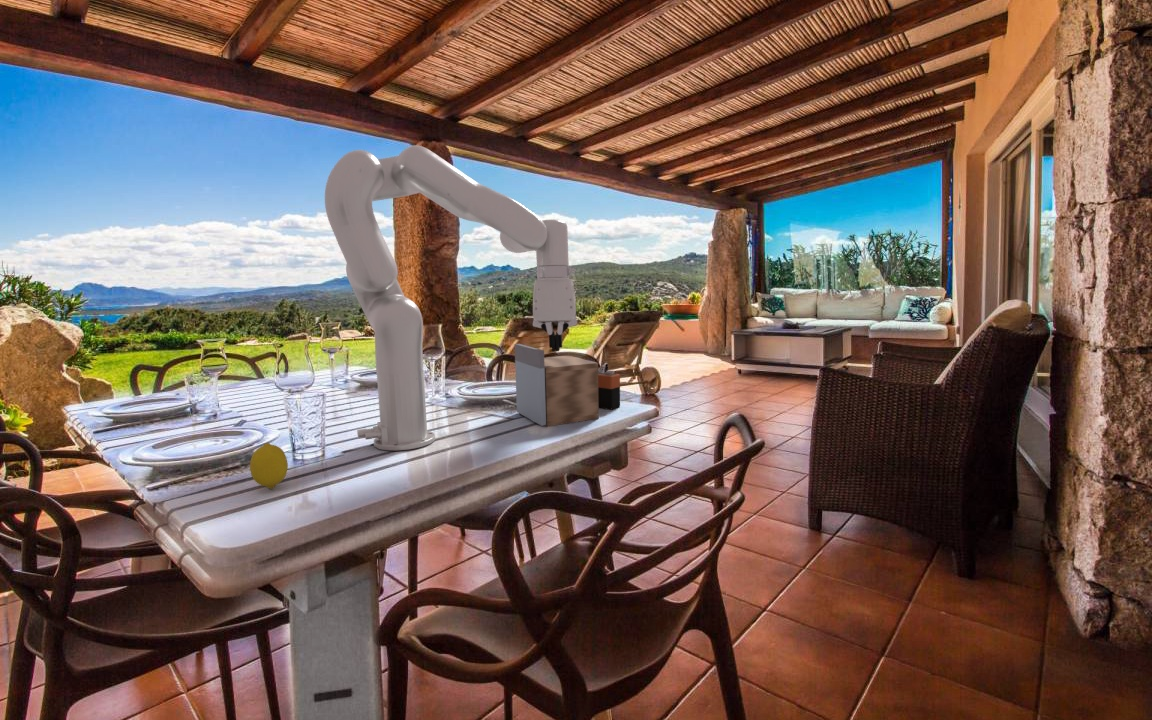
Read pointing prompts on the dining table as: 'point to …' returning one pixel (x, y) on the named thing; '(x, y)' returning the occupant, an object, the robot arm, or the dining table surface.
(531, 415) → the door
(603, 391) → the battery
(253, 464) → the lemon
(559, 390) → the cubby
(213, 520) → the dining table surface
